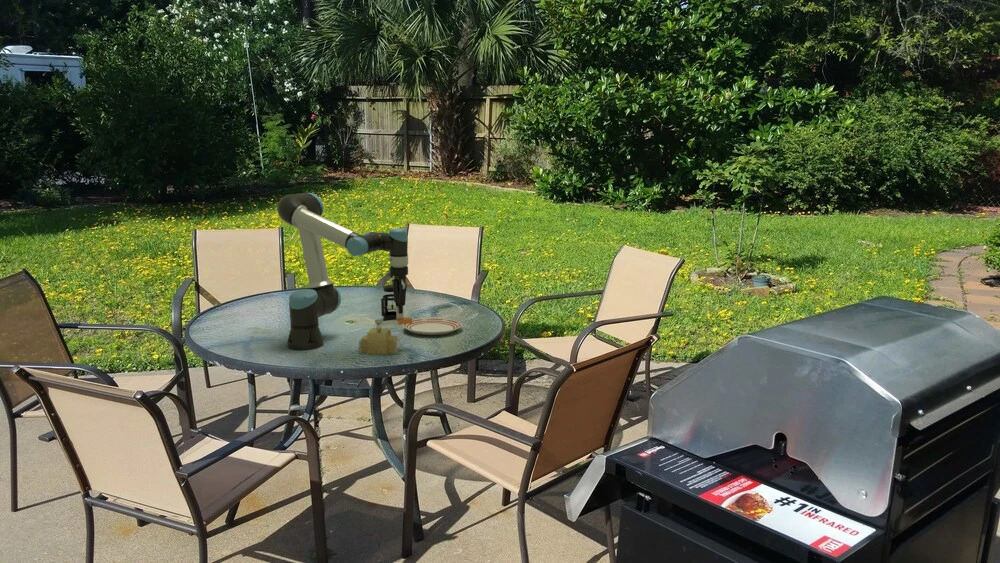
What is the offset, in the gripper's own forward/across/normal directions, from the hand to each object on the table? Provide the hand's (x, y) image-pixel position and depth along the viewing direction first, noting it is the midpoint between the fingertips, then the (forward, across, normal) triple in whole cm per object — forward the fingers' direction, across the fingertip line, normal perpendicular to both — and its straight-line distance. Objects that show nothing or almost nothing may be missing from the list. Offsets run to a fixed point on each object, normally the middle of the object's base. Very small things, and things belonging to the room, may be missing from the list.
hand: (399, 320), depth 313 cm
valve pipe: (+12, +2, -10) cm, 16 cm away
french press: (+13, -47, +11) cm, 50 cm away
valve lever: (+3, +2, -4) cm, 5 cm away
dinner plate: (+13, -20, +22) cm, 33 cm away
